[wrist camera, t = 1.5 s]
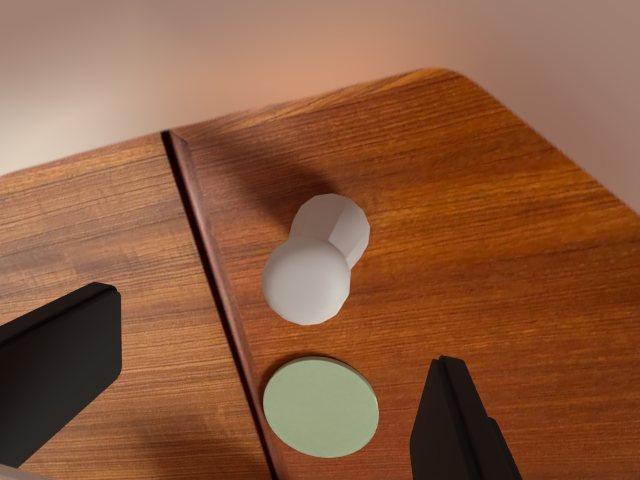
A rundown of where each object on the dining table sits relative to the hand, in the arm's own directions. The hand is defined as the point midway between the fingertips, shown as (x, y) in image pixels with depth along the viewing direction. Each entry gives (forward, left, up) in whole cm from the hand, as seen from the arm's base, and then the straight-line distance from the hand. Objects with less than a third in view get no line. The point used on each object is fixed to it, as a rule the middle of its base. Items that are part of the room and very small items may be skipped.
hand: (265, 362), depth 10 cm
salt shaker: (0, 0, -19) cm, 19 cm away
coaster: (+14, -12, -19) cm, 26 cm away
